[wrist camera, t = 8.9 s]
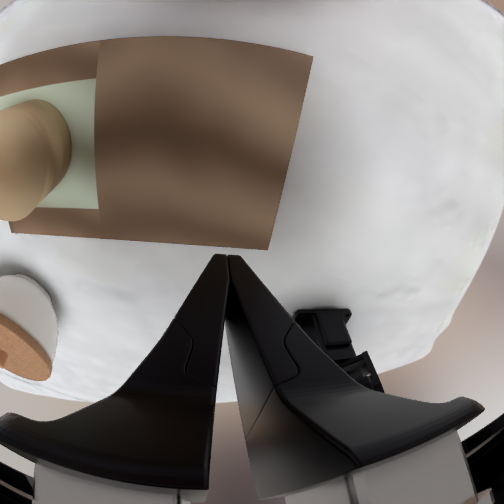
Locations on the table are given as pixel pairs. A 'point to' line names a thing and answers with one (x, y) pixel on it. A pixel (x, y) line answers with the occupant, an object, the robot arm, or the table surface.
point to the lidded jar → (26, 328)
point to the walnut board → (166, 137)
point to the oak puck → (31, 156)
